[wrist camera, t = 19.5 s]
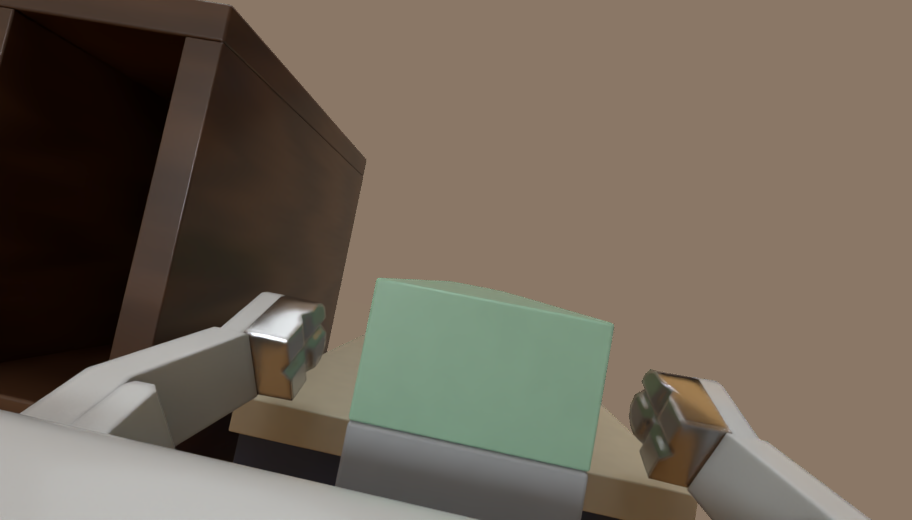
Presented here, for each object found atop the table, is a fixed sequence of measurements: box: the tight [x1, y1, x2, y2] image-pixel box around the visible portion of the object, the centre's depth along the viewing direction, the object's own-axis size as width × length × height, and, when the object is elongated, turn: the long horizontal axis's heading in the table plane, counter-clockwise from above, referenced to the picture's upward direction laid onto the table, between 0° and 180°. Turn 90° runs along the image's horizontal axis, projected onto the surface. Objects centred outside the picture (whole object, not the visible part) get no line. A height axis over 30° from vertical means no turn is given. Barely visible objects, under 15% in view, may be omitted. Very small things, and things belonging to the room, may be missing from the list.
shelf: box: [0, 0, 366, 463], centre depth 18 cm, size 14×8×26 cm, turn 176°
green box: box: [335, 278, 614, 520], centre depth 17 cm, size 22×4×4 cm, turn 176°
